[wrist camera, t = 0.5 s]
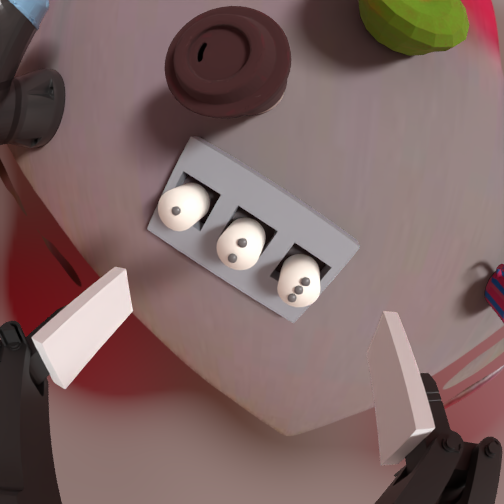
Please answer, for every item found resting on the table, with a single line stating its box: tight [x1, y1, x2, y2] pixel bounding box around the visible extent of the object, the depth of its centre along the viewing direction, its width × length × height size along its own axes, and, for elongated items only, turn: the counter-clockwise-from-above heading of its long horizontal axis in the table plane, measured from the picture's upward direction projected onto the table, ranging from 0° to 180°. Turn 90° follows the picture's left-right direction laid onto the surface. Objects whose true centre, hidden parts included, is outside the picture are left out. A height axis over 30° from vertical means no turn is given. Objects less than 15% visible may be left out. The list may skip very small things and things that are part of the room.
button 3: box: [277, 254, 320, 307], centre depth 32 cm, size 5×5×5 cm
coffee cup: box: [165, 6, 291, 118], centre depth 22 cm, size 10×10×15 cm
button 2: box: [216, 217, 266, 270], centre depth 32 cm, size 5×5×5 cm
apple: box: [359, 0, 469, 56], centre depth 16 cm, size 12×12×11 cm
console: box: [147, 136, 360, 323], centre depth 35 cm, size 24×14×2 cm, turn 59°
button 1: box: [158, 182, 210, 231], centre depth 32 cm, size 5×5×5 cm
